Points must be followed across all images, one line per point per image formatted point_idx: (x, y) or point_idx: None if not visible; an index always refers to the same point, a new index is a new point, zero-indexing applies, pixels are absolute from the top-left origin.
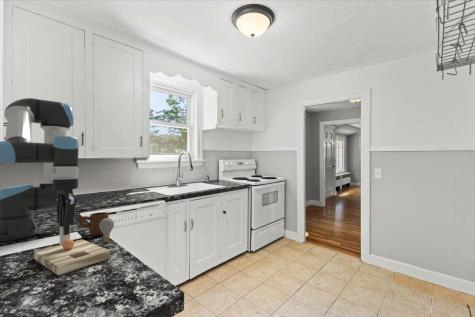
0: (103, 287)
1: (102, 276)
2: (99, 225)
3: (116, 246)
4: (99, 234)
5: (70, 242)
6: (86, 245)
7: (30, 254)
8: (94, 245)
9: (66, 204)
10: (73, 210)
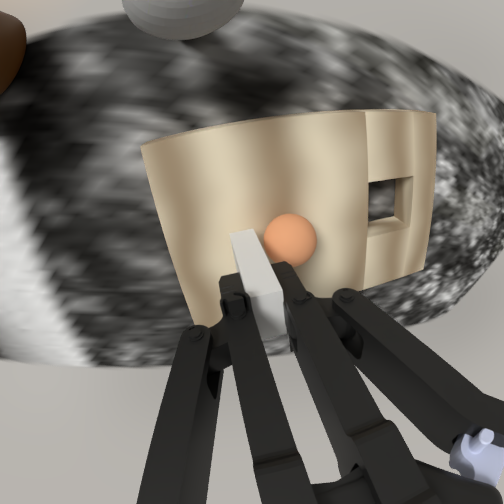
0: (501, 199)
1: (480, 183)
2: (180, 36)
3: (307, 22)
4: (23, 54)
5: (316, 240)
6: (294, 151)
7: (133, 321)
8: (327, 122)
9: (442, 442)
10: (437, 364)
